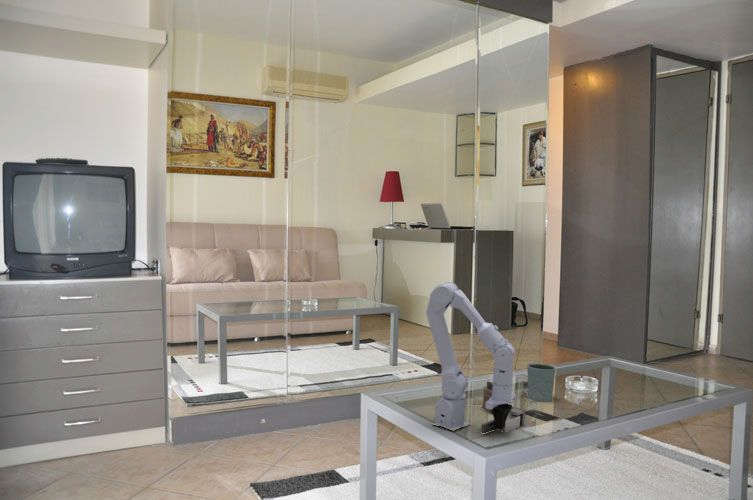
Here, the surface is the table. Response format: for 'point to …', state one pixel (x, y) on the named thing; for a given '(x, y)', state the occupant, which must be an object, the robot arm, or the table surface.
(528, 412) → the solid state drive
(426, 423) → the table surface
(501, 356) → the robot arm
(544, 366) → the green plant pot
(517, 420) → the bar
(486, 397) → the lighter
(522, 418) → the bracket
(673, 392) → the table surface
